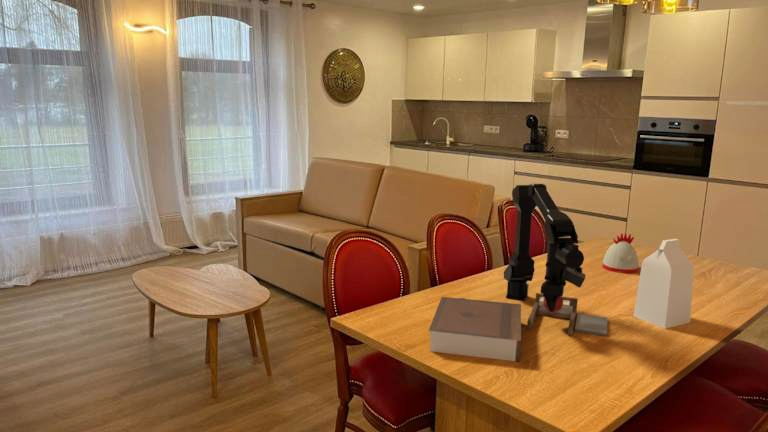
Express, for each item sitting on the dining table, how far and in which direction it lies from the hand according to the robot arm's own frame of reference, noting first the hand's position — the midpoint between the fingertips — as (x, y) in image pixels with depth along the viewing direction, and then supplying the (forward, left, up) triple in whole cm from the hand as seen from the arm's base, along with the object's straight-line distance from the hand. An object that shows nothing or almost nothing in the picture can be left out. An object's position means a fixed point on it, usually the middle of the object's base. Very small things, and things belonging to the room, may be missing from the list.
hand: (552, 308), depth 176 cm
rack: (0, +4, -6) cm, 7 cm away
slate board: (+12, +5, -6) cm, 14 cm away
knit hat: (+20, +76, -6) cm, 79 cm away
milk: (+32, +20, -6) cm, 38 cm away
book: (-19, -18, -6) cm, 27 cm away
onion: (0, 0, -2) cm, 2 cm away
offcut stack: (0, +10, -6) cm, 11 cm away
